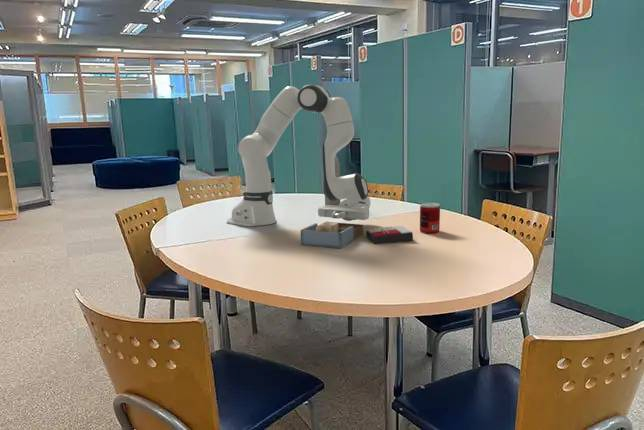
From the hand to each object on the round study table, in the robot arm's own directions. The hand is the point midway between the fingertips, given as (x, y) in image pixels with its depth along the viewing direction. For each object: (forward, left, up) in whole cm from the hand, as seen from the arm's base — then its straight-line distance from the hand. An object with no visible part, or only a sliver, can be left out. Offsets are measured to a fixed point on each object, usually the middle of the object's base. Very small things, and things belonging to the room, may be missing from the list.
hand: (335, 216), depth 191 cm
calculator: (+20, +6, -9) cm, 23 cm away
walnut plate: (0, +4, -9) cm, 9 cm away
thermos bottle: (-28, +59, -9) cm, 66 cm away
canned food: (+31, +23, -9) cm, 39 cm away
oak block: (0, -3, -5) cm, 6 cm away
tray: (0, -7, -9) cm, 11 cm away
